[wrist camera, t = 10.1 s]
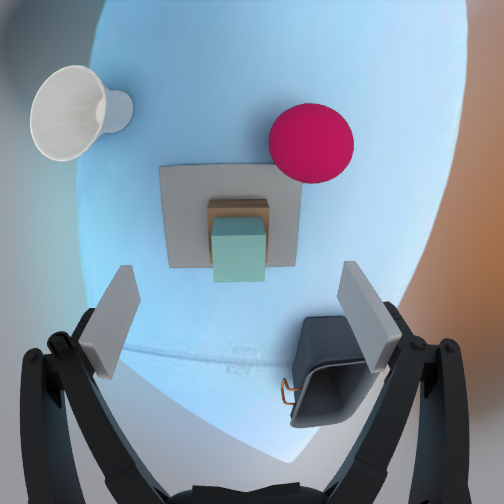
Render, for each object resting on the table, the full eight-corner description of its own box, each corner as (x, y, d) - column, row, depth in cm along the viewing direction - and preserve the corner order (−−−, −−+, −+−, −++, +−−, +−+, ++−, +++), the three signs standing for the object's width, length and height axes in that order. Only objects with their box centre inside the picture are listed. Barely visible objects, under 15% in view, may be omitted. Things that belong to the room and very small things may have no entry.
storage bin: (334, 374, 60) (350, 422, 47) (270, 378, 59) (277, 431, 46) (359, 304, 51) (388, 357, 38) (281, 307, 49) (295, 368, 37)
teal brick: (214, 217, 36) (211, 235, 30) (261, 216, 36) (266, 235, 31) (216, 258, 38) (214, 282, 33) (260, 257, 39) (264, 281, 34)
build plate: (160, 166, 37) (159, 167, 36) (301, 164, 38) (302, 165, 37) (170, 264, 44) (169, 268, 43) (293, 263, 45) (294, 266, 44)
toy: (270, 173, 39) (291, 204, 25) (249, 119, 35) (258, 119, 22) (325, 154, 38) (371, 175, 24) (306, 100, 34) (347, 92, 21)
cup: (74, 132, 33) (19, 145, 21) (101, 69, 29) (50, 57, 17) (128, 156, 36) (84, 176, 24) (159, 90, 32) (123, 79, 20)
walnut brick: (209, 199, 39) (206, 208, 35) (266, 199, 39) (269, 207, 36) (211, 250, 42) (209, 263, 39) (264, 249, 43) (267, 262, 39)
